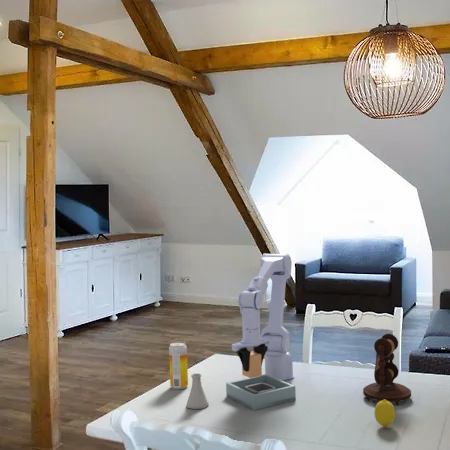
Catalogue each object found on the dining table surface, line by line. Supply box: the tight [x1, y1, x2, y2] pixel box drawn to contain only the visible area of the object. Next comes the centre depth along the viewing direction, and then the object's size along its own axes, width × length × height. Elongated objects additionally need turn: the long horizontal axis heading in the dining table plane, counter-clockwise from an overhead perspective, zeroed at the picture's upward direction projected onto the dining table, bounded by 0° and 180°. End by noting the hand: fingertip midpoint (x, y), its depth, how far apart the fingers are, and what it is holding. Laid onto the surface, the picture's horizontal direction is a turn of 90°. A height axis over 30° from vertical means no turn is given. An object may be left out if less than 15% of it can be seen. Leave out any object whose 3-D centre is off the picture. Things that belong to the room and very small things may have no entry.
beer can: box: [168, 341, 189, 390], centre depth 224 cm, size 6×6×15 cm
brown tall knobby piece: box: [362, 333, 412, 406], centre depth 206 cm, size 15×15×20 cm
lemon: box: [374, 399, 396, 428], centre depth 182 cm, size 6×6×8 cm
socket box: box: [225, 373, 297, 411], centre depth 210 cm, size 16×16×4 cm
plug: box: [241, 350, 263, 378], centre depth 212 cm, size 4×4×7 cm
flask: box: [185, 372, 209, 410], centre depth 205 cm, size 7×7×10 cm
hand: (252, 369), depth 212 cm, fingers closed on plug, 4 cm apart
